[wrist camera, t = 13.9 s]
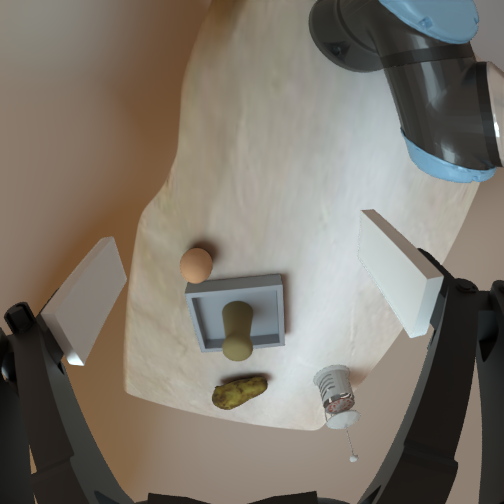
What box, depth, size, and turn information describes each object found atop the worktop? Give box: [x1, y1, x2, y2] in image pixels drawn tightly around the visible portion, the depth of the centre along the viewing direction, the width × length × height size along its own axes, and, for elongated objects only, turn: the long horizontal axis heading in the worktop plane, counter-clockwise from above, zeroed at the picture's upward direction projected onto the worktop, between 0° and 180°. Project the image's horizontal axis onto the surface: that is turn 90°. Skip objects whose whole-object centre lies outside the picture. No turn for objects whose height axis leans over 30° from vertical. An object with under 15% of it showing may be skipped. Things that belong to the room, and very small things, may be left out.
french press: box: [313, 365, 361, 462], centre depth 58 cm, size 10×12×25 cm
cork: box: [222, 301, 253, 361], centre depth 51 cm, size 6×6×11 cm
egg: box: [180, 248, 213, 284], centre depth 48 cm, size 5×5×7 cm
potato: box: [212, 376, 268, 410], centre depth 64 cm, size 8×13×8 cm, turn 82°
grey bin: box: [185, 274, 285, 352], centre depth 55 cm, size 17×15×4 cm
